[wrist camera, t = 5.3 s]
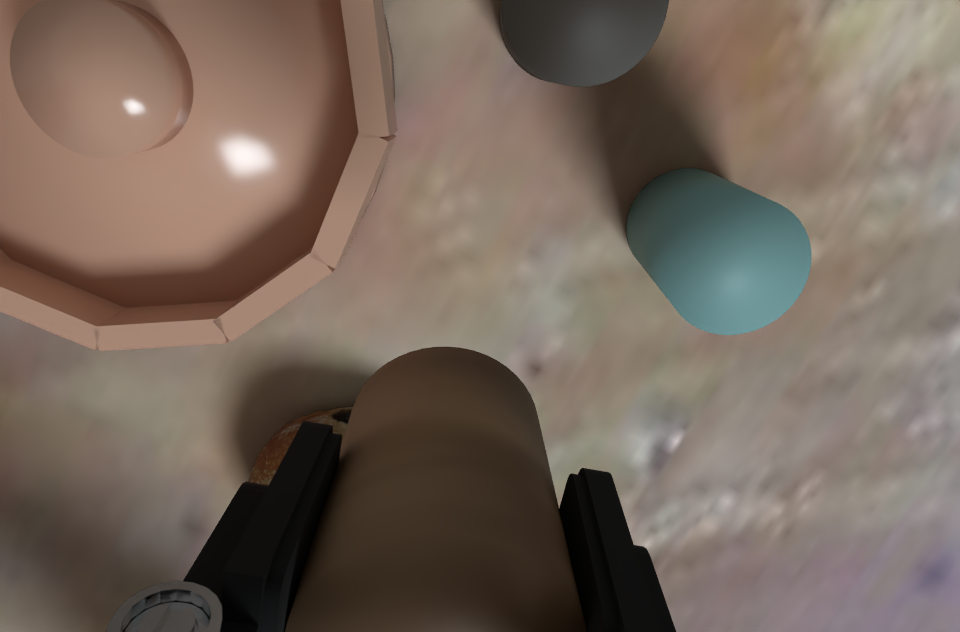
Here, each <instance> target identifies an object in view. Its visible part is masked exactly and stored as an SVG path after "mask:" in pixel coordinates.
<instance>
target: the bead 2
mask: <svg viewBox="0 0 960 632" xmlns="http://www.w3.org/2000/svg"><path fill="white" fill-rule="evenodd" d="M668 4H669V0H501V7H500V28H501V33H502V37H503V40H504V43H505V46H506V48H507V50H508V52H509V54H510V55H511V57H512V58H513V59H514V61H515V62H516V63H517V64H518V65H519V66H520V67H521V68H522V69H523V70H525V71H526V72H527V73H529V74H530V75H532V76H534V77H536V78H538V79H541V80H545V81H548V82H553V83H558V84H562V85H568V86H575V87H588V86H594V85H599V84H603V83H606V82H609V81H611V80H614V79H616V78H618V77H620V76H621V75H623V74H625V73H626V72H628V71H629V70H630V69H632V68H633V67H634V66H635V65H636V64H637V63H638V62H639V61H640V60H641V59H642V58H643V57H644V56H645V55H646V54H647V52H648V51H649V50H650V49H651V47H652V46H653V44H654V42H655V41H656V39H657V37H658V35H659V33H660V31H661V29H662V26H663V23H664V20H665V17H666V13H667V9H668Z"/></svg>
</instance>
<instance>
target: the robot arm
mask: <svg viewBox="0 0 960 632" xmlns="http://www.w3.org/2000/svg"><path fill="white" fill-rule="evenodd" d="M341 443H342V435H341V434H335V433H333V426H332V425H327V424H322V423H316V422H310V421H303V422H302V424H301V426H300V428H299V430H298V431H297V433H296V435H295V437H294V439H293V441H292V443H291V445H290V446H289V448H288V450H287V452H286V454H285V456H284V458H283V460H282V461H281V463H280V465H279V467H278V469H277V471H276V473H275V475H274V476H273V478H272V480H271V482H270V484H269V485H264V484H258V483H252V482H244V483H243V484H242V485H241V486H240V488H239V489H238V491H237V493H236V494H235V496H234V498H233V499H232V501H231V503H230V504H229V506H228V507H227V509H226V511H225V512H224V514H223V516H222V517H221V519H220V521H219V522H218V524H217V526H216V527H215V529H214V531H213V532H212V534H211V536H210V537H209V539H208V541H207V542H206V544H205V546H204V547H203V549H202V551H201V552H200V554H199V556H198V557H197V559H196V561H195V562H194V564H193V566H192V567H191V569H190V571H189V572H188V574H187V575H186V577H185V579H184V580H183V582H182V581H175V582H167V583H160V584H157V585H154V586H151V587H148V588H145V589H143V590H142V591H140V592H138V593H137V594H135V595H133V596H131V597H130V598H129V599H128V600H126V601H125V602H124V603H123V604H122V605H121V606H120V607H119V608H118V609H117V611H116V612H115V614H114V616H113V617H112V619H111V621H110V622H109V625H108V628H107V630H106V632H285V630H286V625H287V621H288V618H289V615H290V611H291V608H292V605H293V602H294V598H295V595H296V592H297V588H298V585H299V582H300V579H301V575H302V572H303V569H304V566H305V563H306V560H307V557H308V554H309V550H310V547H311V544H312V541H313V538H314V535H315V532H316V529H317V525H318V522H319V519H320V516H321V513H322V510H323V507H324V504H325V501H326V498H327V495H328V492H329V489H330V486H331V483H332V480H333V477H334V474H335V471H336V468H337V466H338V463H339V458H340V450H341ZM559 511H560V516H561V520H562V524H563V529H564V533H565V537H566V542H567V546H568V551H569V555H570V559H571V564H572V568H573V572H574V577H575V581H576V586H577V590H578V594H579V599H580V603H581V607H582V612H583V616H584V621H585V625H586V630H587V632H676V630H675V627H674V624H673V621H672V618H671V615H670V613H669V610H668V607H667V604H666V601H665V598H664V595H663V592H662V589H661V586H660V583H659V581H658V578H657V575H656V572H655V569H654V566H653V563H652V560H651V557H650V555H649V553H648V551H647V549H646V548H644V547H642V546H636V545H633V541H632V538H631V535H630V532H629V529H628V526H627V522H626V519H625V516H624V513H623V510H622V507H621V503H620V500H619V497H618V494H617V491H616V488H615V484H614V481H613V478H612V475H611V473H609V472H603V471H597V470H591V469H586V468H582V469H580V471H579V473H578V475H577V474H570V475H569V477H568V480H567V483H566V487H565V490H564V494H563V497H562V501H561V504H560V508H559Z"/></svg>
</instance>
